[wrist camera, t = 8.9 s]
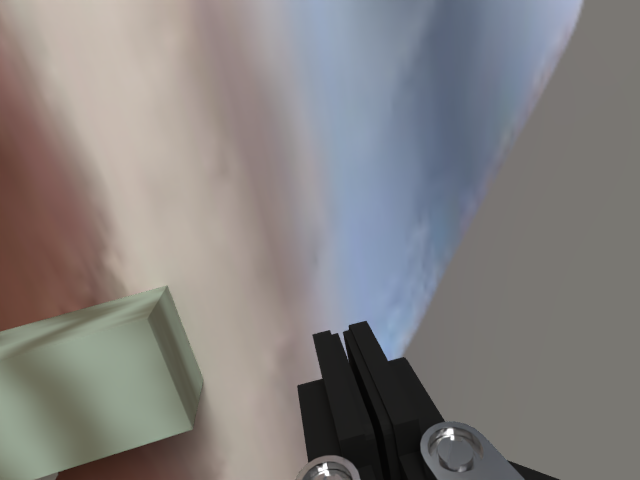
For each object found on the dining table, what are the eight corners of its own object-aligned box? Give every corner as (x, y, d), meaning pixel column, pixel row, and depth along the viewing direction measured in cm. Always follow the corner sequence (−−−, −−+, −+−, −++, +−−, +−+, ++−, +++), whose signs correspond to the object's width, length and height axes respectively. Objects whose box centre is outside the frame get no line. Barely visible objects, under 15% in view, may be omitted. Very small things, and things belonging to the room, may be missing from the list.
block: (168, 284, 27) (147, 318, 22) (203, 377, 29) (192, 429, 24) (-8, 333, 26) (-75, 381, 21) (43, 426, 28) (-6, 491, 23)
